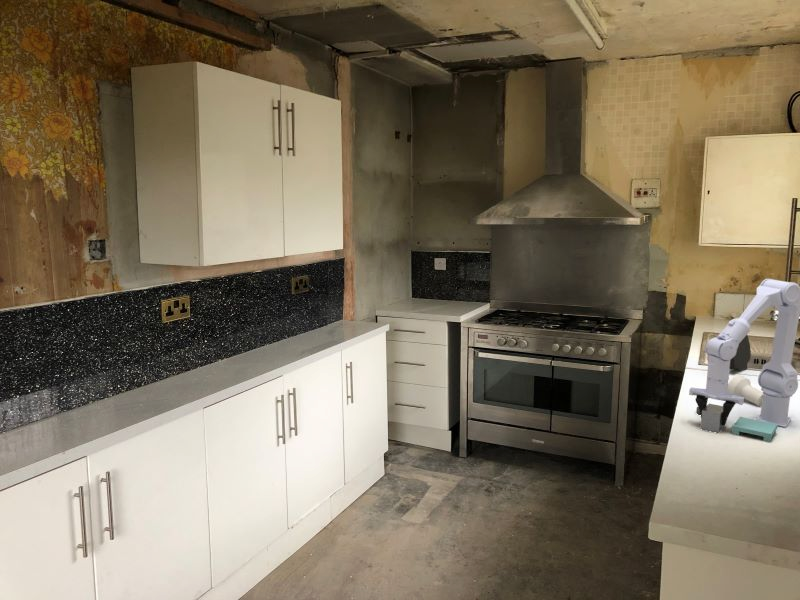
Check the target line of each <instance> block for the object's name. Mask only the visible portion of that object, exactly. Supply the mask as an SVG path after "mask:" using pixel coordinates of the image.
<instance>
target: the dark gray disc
mask: <svg viewBox="0 0 800 600" xmlns="http://www.w3.org/2000/svg"><path fill="white" fill-rule="evenodd" d="M696 413H697V414H698V415H697V414H696ZM695 414H696V415H697V416H699V415H701V414H700V410H699V407H698V406H697V407H696V411H695Z"/></svg>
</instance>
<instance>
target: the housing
mask: <svg viewBox="0 0 800 600" xmlns="http://www.w3.org/2000/svg"><path fill="white" fill-rule="evenodd" d="M722 418H723V405H718V404H713V403H707V406H706V407H705V408H704V409H703V410H702V417H701V416H700V428H699V429H702V430H701V431H705V430H707V431H706V432H709V431H711V432H710V433H714V432H716V433H715V434H718V433H719V432H720V433H721V431H723V429H724V428H725V427H726V425H725V426H723V425H722ZM720 433H719V434H720Z"/></svg>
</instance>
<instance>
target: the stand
mask: <svg viewBox="0 0 800 600" xmlns="http://www.w3.org/2000/svg"><path fill="white" fill-rule="evenodd" d="M778 427H779V426H778V424H773V423H768V422H763V421H759V420H757V419H753V418H749V417H743V416H739V417H738V419H736V421H735V422H734V423H733V424H732V427H731V431H732V435H735V434H737V436H740V434H741V433H746V434H749V435H756V436H759V437H763V442H768V443H770V442H771V441H772V438H773V436H774V435H776V433H777V429H778Z"/></svg>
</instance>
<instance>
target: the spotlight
mask: <svg viewBox="0 0 800 600" xmlns="http://www.w3.org/2000/svg"><path fill="white" fill-rule="evenodd" d="M727 393H730V394H733V395H737V396H741V397H744V400H747V401H748V402H750V403H752V404H754V405H755V406H757V407H761V406H762V397H763V391H762V390H759V389H758V388H757V387H754V386H751V381H750V379H749V378H747V377H745V376H744V375H742V374H738V375H737V374H736V375H735V376H733V377H732V378H731V380H729V381H728V389H727Z"/></svg>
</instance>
